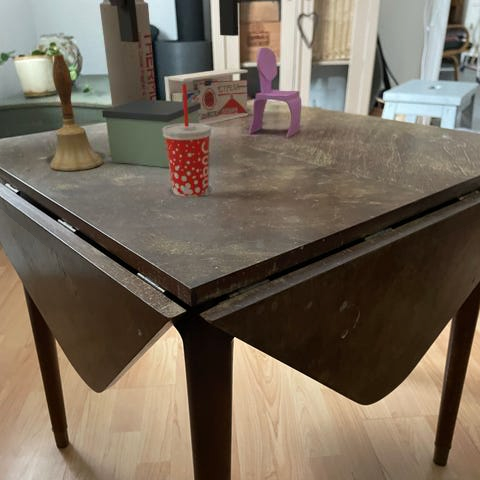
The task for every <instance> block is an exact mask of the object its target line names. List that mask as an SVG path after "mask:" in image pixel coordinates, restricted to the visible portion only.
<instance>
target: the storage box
mask: <svg viewBox="0 0 480 480" xmlns="http://www.w3.org/2000/svg"><path fill="white" fill-rule="evenodd" d="M187 106H188V123H197V124H199V112H198V110H199V109H201V103H198V102H187ZM101 112H102V118H105V122H106V123H105V124H106V130H107V137H108V144H109V145H108V146H109V152H110V153H109V154H110V159H111V163H118V164H128V165H129V164H130V165H137V166H138V165H139V166H149V167H158V168H159V167H160V168H169V161H168V154H167V147H166V140H165V137H164V136H163V131H162V129H163V128H164V127H166V126H168V125H174V124H183V123H185V120H184V103H183V102H179V101H166V100H159V99H158V100H157V99H156V100H142V99H140V100H136V101H133V102H130V103H126V104H123V105H120V106H116V107H113V108H112V107H110V108H106V109H103V110H102V111H101ZM169 169H170V168H169Z"/></svg>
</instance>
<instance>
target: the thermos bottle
mask: <svg viewBox="0 0 480 480" xmlns="http://www.w3.org/2000/svg"><path fill="white" fill-rule="evenodd" d="M135 5H136V15H137V25H138V35H139V42H122V41H121V37H120V29H119V20H118V11H117V6H111V3H110V1H109V0H102V2H101V3H99V10H100V20H101V28H102V36H103V43H104V51H105V60H106V69H107V76H108V77H107V78H108V84H109V92H110V99H111V101H110V102H111V108H113V107H116V106H120V105H123V104H126V103H130V102H133V101H136V100H140V99H142V100H157V94H156V92H157V91H156V83H155V82H156V81H155V70H154V58H153V47H152V34H151V33H152V32H151V23H150V11H149V3H148V2H146V1H145V0H135Z"/></svg>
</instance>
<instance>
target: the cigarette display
mask: <svg viewBox="0 0 480 480" xmlns="http://www.w3.org/2000/svg"><path fill="white" fill-rule="evenodd" d="M246 73H248V69H240V68H239V69H238V68H225V69H224V68H223V69H216V70H209V71H201V72H193V73H185V74H176V75H169V76H164V89H165V90H164V91H165V101H179V102H183V87H182V84H186V88H187V102H198V103H201V109H199V110H198V112H199V124H205V125H211V124H215V123H220V122H225V121H230V120H233V119H239V118H244V117H247V116H248V115H249V113H248V80H246V79H241V80H240V79H236V80H234V75H238V74H246Z"/></svg>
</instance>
